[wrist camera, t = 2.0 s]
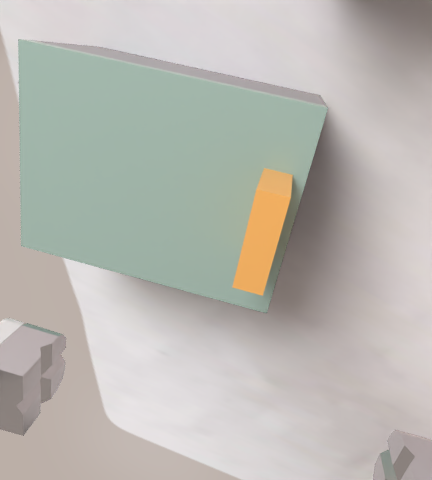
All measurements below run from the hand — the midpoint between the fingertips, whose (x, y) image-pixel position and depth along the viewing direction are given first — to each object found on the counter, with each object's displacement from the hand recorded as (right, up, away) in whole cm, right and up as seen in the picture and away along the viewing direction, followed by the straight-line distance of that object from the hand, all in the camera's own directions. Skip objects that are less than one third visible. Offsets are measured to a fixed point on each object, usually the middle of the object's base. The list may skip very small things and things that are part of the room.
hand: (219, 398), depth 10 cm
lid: (-3, +7, +14) cm, 16 cm away
